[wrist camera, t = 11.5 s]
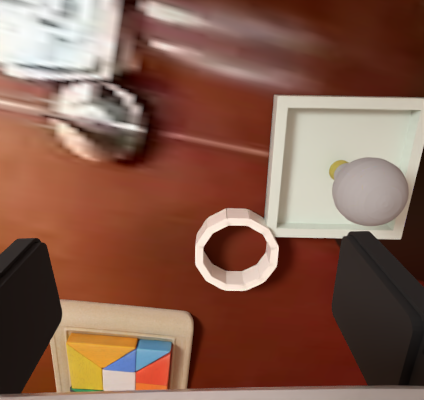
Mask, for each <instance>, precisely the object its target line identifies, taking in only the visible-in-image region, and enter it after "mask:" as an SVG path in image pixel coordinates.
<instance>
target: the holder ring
mask: <svg viewBox="0 0 424 400" xmlns="http://www.w3.org/2000/svg"><path fill="white" fill-rule="evenodd" d="M229 225H232V226H249V227H251V228H252V229H254V230H256V231H258V232H259V233H261V234H263V235H264V237H265V239H266V241H267V246H266V253H265V254H264V255H263V257H262V258H261V259H260V261H259V262H258V263H257V265H255V266H253V267H250V268H248V269H246V270H244V271H225V270H223V269H221V268H219V267H217V266H215V265H213V264H212V263H211V261H210V260H209V258H208V257H207V255H206V254H205V252H204V246H205V244H206V243H207V241H208V240H209V238H210V237H211V235H212V234H213V233H215V232H217V231H219V230H221V229H223V228H225V227H227V226H229ZM278 251H279V246H278V244H277V241H276V238H275V237H274V236H273V235H272V233H271V231H270V229H269V227H268V226H267V225H266V222H265V219H264V218H263V217H261V216H260V215H258V214H256V213H254V212H253V211H251V210H249V209H248V210H247V209H235V208H227V210H226V209H224V210H222V211H220V212H218V213H216V214H214V215H212V216H210V217H208V218H207V219H206V221H205V222H204V224H203V225H202V227H201V228H200V230H199V232H198V233H197V237H196V246H195V264H196V266H197V268H198V269H199V271H200V273H201V274H202V276H203V277H204V279H205V280H206V281H207V282H209V283H211V284H213V285H215V286H217V287H219V288H221V289H222V290H225V291H245V290H249V289H251V288H253V287H255V286H257V285H260V284H262V283H264V282H265V281H266V280H267V279H268V277H269V276H270V275H271V273H272V272H273V271H274V270H275V268H276V267H277V261H278Z"/></svg>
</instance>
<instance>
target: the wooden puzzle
mask: <svg viewBox="0 0 424 400" xmlns="http://www.w3.org/2000/svg"><path fill="white" fill-rule="evenodd" d="M60 303H61V308H62V320H61V322H60V324H59V326H58V328H57V330H56V332H55V333H54V335H53V337H52V339H51V340H50V346H51V353H52V360H53V367H54V374H55V381H56V389H57V393H58V392H91V391H126V390H164V389H187V383H188V374H189V366H190V357H191V349H192V339H193V330H194V322H193V318H192V316H191V314H190V313H189V312H186V311H180V310H170V309H160V308H150V307H139V306H129V305H118V304H107V303H96V302H86V301H75V300H60Z"/></svg>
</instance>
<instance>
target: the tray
mask: <svg viewBox="0 0 424 400" xmlns="http://www.w3.org/2000/svg"><path fill="white" fill-rule="evenodd" d="M423 146H424V97H377V96H322V95H274V101H273V114H272V126H271V139H270V151H269V164H268V177H267V189H266V202H265V215H264V219H265V222H266V225H267V226H268V227H269V229H270V231H271V233H272V235H273V236H274V237H300V238H343V236H347V235H348V233H349V232H350V231H369V232H371V233H372V234H373V235H374V236H375V237H376V238H377V239H401V237H402V233H403V229H404V225H405V221H406V216H407V212H408V208H409V204H410V200H411V195H412V192H413V188H414V183H415V179H416V175H417V171H418V167H419V163H420V159H421V155H422V151H423ZM365 157H372V158H381V159H384V160H387V161H389V162H390V163H392V164H394V165H395V166H397V167H398V168H399V169H400V170H401V171H402V173H403V174H404V176H405V178H406V180H407V183H408V189H409V196H408V201H407V204H406V206H405V208H404V209H403V211H402V212H401V213H400V214H399V215H398V216H397V217H396V218H395V219H393V220H392V221H390V222H388V223H386V224H383V225H379V226H363V225H359V224H355V223H353V222H351V221H349V220H347V219H346V218H345V217H344V216H343V215H342V214H341V213H340V212H339V211H338V209H337V208H336V206H335V203H334V200H333V196H332V187H333V182H334V180H333V179H332V178H331V177H330V175H329V169H330V167H331V165H332V164H333V163H334V162H336V161H338V160H345V161H347V162H348V163H350V162H352V161H354V160H357V159H360V158H365Z"/></svg>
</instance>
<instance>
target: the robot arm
mask: <svg viewBox="0 0 424 400" xmlns="http://www.w3.org/2000/svg"><path fill="white" fill-rule="evenodd" d="M332 312H333V316H334V318H335V320H336V322H337V324H338V326H339V328H340V330H341V332H342V334H343V336H344V338H345V340H346V342H347V344H348V346H349V348H350V350H351V352H352V354H353V356H354V358H355V360H356V362H357V364H358V366H359V368H360V370H361V372H362V374H363V376H364V378H365V380H366V382H367V384H368V386H304V387H250V388H206V389H164V390H126V391H91V392H58V393H26V394H21V392H22V390H23V388H24V387H25V385H26V383H27V381H28V380H29V378H30V376H31V374H32V372H33V371H34V369H35V367H36V365H37V364H38V362H39V360H40V358H41V356H42V355H43V353H44V351H45V349H46V348H47V346H48V344H49V342H50V340H51V339H52V337H53V335H54V333H55V332H56V330H57V328H58V326H59V324H60V322H61V320H62V308H61V303H60V299H59V295H58V291H57V287H56V283H55V278H54V274H53V270H52V266H51V262H50V257H49V253H48V249H47V246H46V244H45V243H41V241H40V240H39V239H38V238H26V239H17V240H15V241H14V242H13V243H12V244H11V245H10V246H9V247H8V248H7V249H6V250H5V251H4V252H2V253H1V254H0V400H424V287H423V286H422V285H421V284H420V283H419V282H418V281H417V280H416V279H415V278H414V277H413V276H412V275H411V274H410V273H409V272H408V271H407V269H405V267H403V265H402V264H401V263H400V262H399V261H398V260H397V259H396V258H395V257H394V256H393V255H392V254H391V253H390V252H389V251H388V250H387V249H386V248H385V247H384V246H383V245H382V244H381V243H380V242H379V240H378V239H377V238H376V237H375V236H374V235H373V234H372V233H371V232H369V231H350V232H349V233H348V235H347V236H343V238H342V241H341V247H340V254H339V260H338V267H337V274H336V280H335V287H334V294H333V300H332Z"/></svg>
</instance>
